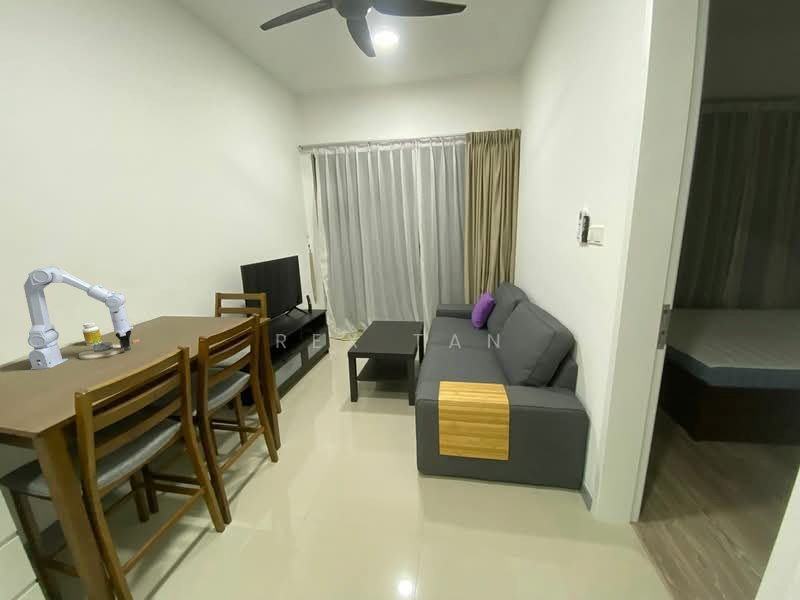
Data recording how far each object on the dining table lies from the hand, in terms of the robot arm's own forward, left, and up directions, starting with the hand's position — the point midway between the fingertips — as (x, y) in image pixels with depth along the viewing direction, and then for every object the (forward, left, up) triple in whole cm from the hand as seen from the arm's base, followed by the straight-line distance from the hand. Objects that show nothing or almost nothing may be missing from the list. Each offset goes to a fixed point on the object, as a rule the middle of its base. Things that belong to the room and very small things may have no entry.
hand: (126, 346), depth 155 cm
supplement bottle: (+20, +27, -4) cm, 34 cm away
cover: (+3, +12, -2) cm, 13 cm away
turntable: (+4, +11, -3) cm, 12 cm away
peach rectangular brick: (+16, +5, -3) cm, 17 cm away
